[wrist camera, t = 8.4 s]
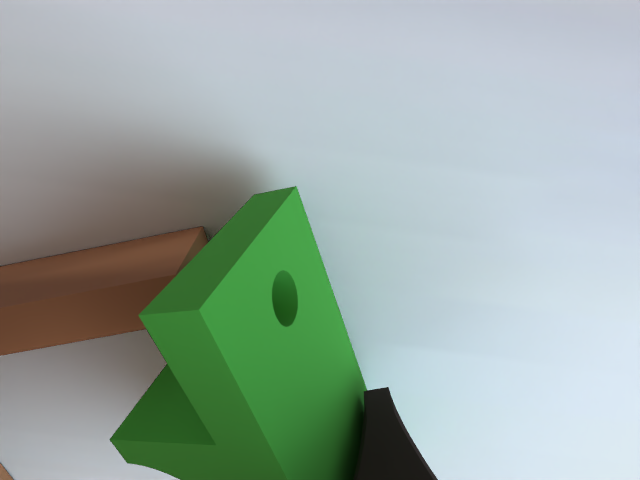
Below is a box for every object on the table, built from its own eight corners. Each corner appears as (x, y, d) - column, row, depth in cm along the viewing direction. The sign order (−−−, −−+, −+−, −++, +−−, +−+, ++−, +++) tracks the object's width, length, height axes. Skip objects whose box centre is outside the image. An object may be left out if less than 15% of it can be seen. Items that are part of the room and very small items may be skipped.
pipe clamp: (169, 209, 11) (20, 324, 7) (298, 183, 10) (198, 306, 6) (301, 480, 16) (252, 637, 12) (401, 488, 14) (382, 668, 10)
